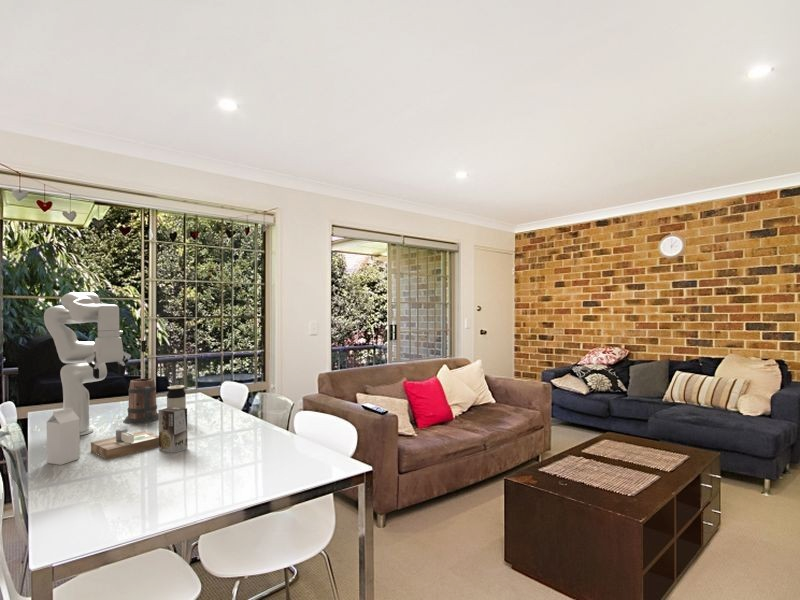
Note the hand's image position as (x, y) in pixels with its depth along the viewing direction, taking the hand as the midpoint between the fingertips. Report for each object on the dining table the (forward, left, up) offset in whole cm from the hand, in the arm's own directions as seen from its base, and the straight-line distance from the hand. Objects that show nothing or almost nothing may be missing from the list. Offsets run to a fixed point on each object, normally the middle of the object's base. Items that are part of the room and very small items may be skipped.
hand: (108, 376), depth 189 cm
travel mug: (-8, +32, -28) cm, 43 cm away
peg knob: (+15, 0, -24) cm, 28 cm away
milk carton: (+9, -18, -28) cm, 35 cm away
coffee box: (+29, +12, -28) cm, 42 cm away
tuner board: (+12, +2, -28) cm, 30 cm away
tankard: (-28, +26, -28) cm, 48 cm away
